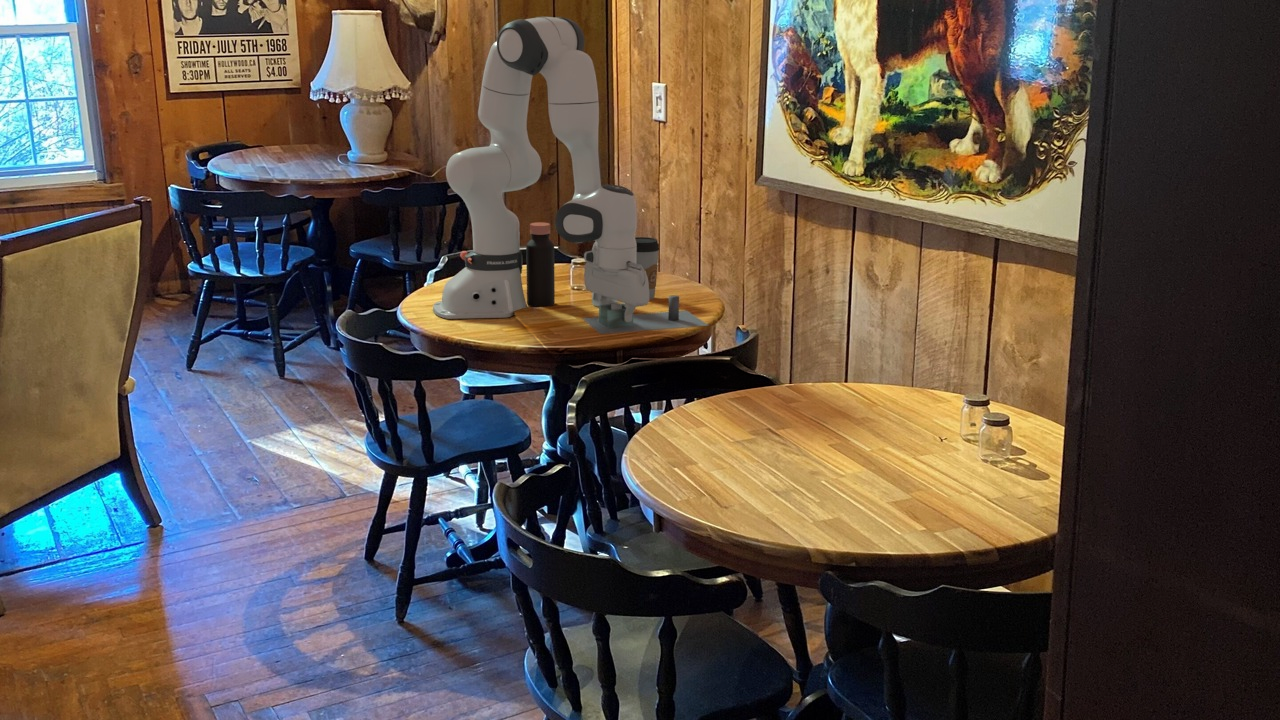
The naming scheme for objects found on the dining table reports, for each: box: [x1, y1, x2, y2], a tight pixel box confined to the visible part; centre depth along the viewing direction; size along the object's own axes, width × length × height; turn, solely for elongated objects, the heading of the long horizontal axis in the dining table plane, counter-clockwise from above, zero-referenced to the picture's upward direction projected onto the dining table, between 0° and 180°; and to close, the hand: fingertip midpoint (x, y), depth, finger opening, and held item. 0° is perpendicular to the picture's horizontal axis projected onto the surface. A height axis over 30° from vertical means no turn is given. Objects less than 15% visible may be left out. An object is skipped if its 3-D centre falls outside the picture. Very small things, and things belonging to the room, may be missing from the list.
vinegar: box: [525, 221, 556, 308], centre depth 287 cm, size 7×7×20 cm
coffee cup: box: [635, 236, 660, 300], centre depth 295 cm, size 8×8×15 cm
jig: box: [582, 294, 710, 335], centre depth 271 cm, size 26×14×6 cm, turn 109°
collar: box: [598, 302, 634, 328], centre depth 269 cm, size 6×6×4 cm
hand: (616, 317), depth 269 cm, fingers closed on collar, 7 cm apart
